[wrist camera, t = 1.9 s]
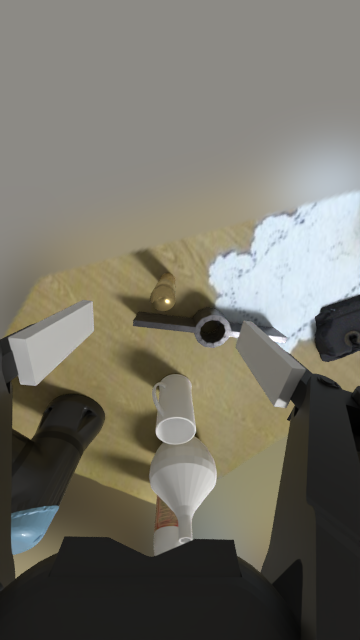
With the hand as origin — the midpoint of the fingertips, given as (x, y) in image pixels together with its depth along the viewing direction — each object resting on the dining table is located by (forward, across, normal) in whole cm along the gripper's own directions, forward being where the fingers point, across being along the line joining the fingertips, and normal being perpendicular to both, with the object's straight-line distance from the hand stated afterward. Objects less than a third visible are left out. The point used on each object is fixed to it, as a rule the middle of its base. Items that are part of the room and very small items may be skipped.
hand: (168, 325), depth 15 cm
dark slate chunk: (+22, +45, -3) cm, 50 cm away
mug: (+21, +3, -25) cm, 33 cm away
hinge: (+21, +9, -7) cm, 24 cm away
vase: (+21, +9, -49) cm, 54 cm away
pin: (+21, -1, +1) cm, 21 cm away
